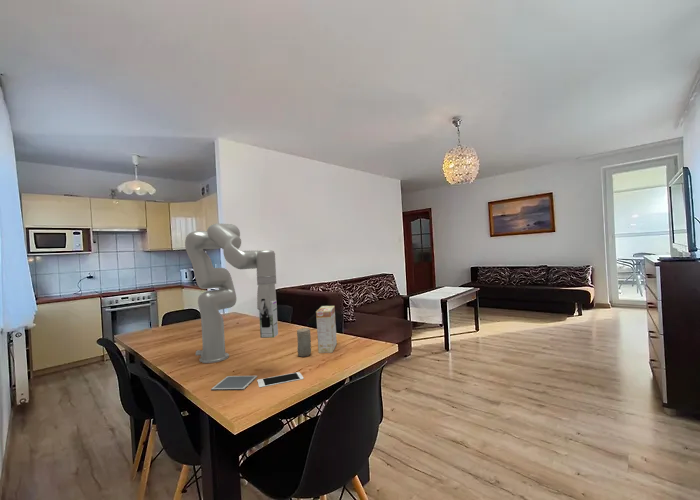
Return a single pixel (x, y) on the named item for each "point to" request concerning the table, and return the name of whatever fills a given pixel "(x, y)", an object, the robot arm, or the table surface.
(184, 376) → the table surface
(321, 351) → the coffeecake box
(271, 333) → the syrup box
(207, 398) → the table surface
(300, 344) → the carving
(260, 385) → the cell phone
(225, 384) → the mat
